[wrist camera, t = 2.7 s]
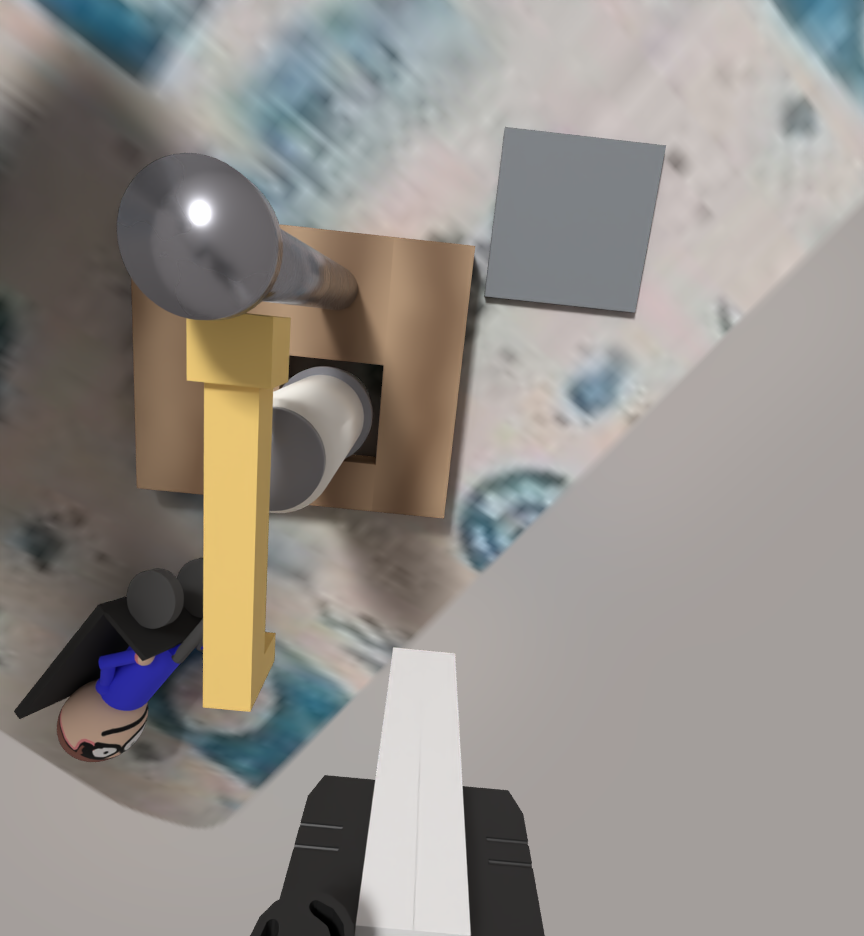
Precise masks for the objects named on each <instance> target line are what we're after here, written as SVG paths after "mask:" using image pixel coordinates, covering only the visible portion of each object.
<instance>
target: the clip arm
mask: <svg viewBox="0 0 864 936" xmlns="http://www.w3.org/2000/svg"><path fill="white" fill-rule="evenodd" d="M290 325H291V318H288V317H279V316H270V315H260V314H251V313H245V314H243V315H240V316H238V317H235V318H231V319H226V320H194V319H188V318H186V333H187V381H197V382H204V550H203V707H204V708H215V709H226V710H237V711H248V712H250V711H251V709H252V707H253V705H254V703H255V701H256V699H257V697H258V694H259V692H260V690H261V688H262V686H263V684H264V682H265V680H266V677H267V675H268V673H269V671H270V669H271V667H272V665H273V663H274V658H275V633H269V632H265V618H266V589H267V559H268V530H269V500H270V471H271V442H272V412H273V388H275V387H277V386H280V385H282V384H285V383H287V382H288V374H289V349H290Z"/></svg>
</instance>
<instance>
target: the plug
mask: <svg viewBox="0 0 864 936" xmlns="http://www.w3.org/2000/svg"><path fill="white" fill-rule="evenodd" d="M372 421H373V409H372V403H371V399H370V395H369V392H368V390H367V388H366V387H365V385H364V384H363V383H362V382H361V381H360V379H358V378H357V377H356V376H355V375H353V374H351V373H349V372H347V371H344V370H342V369H339V368H336V367H330V366H318V367H313V368H309V369H306V370H304V371H301V372H299V373H297V374H296V375H294V376H293V377H292V378H290V379H289V380H288V382H287V383H285V385H284V386H283V387H282V388H281V389H279V390H276V391H274V392H273V412H272V442H271V471H270V500H269V513H288V512H293V511H297V510H299V509H302V508H304V507H306V506H308V505H309V504H311V503H312V502H314V501H315V500H316V499H317V498H318V497H319V496H320V495H321V494H322V492H323V491H324V490H325V488H326V487H327V485H328V484H329V482H330V481H331V479H332V478H333V476H334V474H335V473H336V471H337V470H338V468H339V467H340V465H341V464H342V462H343V461H344V459H345V458H347V457H349V456H351V455H352V454H353V453H355V452H356V451H357V450H358V449H359V448H360V447H361V446H362V444H363V443H364V441H365V440H366V438H367V436H368V434H369V432H370V429H371V426H372Z"/></svg>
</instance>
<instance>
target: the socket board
mask: <svg viewBox="0 0 864 936" xmlns="http://www.w3.org/2000/svg"><path fill="white" fill-rule="evenodd" d="M279 226H280V229H282V230H284V231H285V232H287V233H289V234H290V235H292V236H294V237H295V238H297V239H299V240H300V241H302V242H303V243H305V244H307V245H308V246H310V247H312V248H313V249H315V250H317V251H318V252H320V253H322V254H323V255H325V256H327V257H328V258H330V259H331V260H333V261H335V262H336V263H338V264H340V265H341V266H343V267H345V268H346V269H348V270H349V271H350V272H351V273H352V274H353V275H354V277H355V279H356V281H357V286H358V292H357V296H356V299H355V300H354V302H353V303H352V304H351V305H350V306H349V307H347V308H345V309H342V310H331V309H322V308H314V307H305V306H297V305H288V304H280V303H271V302H263V301H262V302H261V303H260V304H259V305H257V306H256V307H255V308H254V309H252V310H250V311H249V312H247V313H251V314H260V315H270V316H279V317H288V318H291V325H290V349H289V355H291V356H301V357H310V358H320V359H330V360H339V361H349V362H358V363H368V364H377V365H384V368H383V380H382V392H381V405H380V417H379V429H378V442H377V454H376V457H372V456H363V455H353V454H352V455H351V456H349V457H347V458H345V459H344V461H343V462H342V464H341V465H340V467H339V468H338V470H337V471H336V473H335V474H334V476H333V478H332V479H331V481H330V482H329V484H328V485H327V487H326V488H325V490H324V491H323V492H322V494H321V495H320V496H319V497H318V498H317V499H316V500H315V501H314V502H312V503H311V504H309V505H313V506H323V507H333V508H343V509H353V510H363V511H373V512H384V513H394V514H404V515H414V516H424V517H434V518H444V513H445V505H446V496H447V487H448V478H449V470H450V461H451V452H452V444H453V435H454V426H455V417H456V409H457V400H458V391H459V383H460V374H461V365H462V356H463V348H464V339H465V330H466V322H467V313H468V304H469V296H470V287H471V278H472V269H473V261H474V252H475V246H470V245H461V244H452V243H442V242H433V241H424V240H415V239H406V238H397V237H388V236H379V235H370V234H361V233H352V232H342V231H333V230H324V229H315V228H306V227H297V226H288V225H279ZM131 291H132V328H133V366H134V404H135V441H136V479H137V488H141V489H151V490H161V491H171V492H182V493H192V494H202V495H204V382H197V381H187V333H186V318H184V317H180V316H177V315H175V314H172V313H170V312H168V311H166V310H164V309H163V308H161V307H159V306H158V305H156V304H155V303H154V302H153V301H151V300H150V299H149V298H148V297H147V296H146V295H145V294H144V293H143V292H142V291H141V290H140V289H139V288H138V286H137V285H136V284H135V283H134V281H133V279H132V278H131ZM284 385H285V384H282V385H280V386H277V387H275V388H273V392H274V391H276V390H279V389H281V388H282V387H283V386H284Z"/></svg>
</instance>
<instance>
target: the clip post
mask: <svg viewBox="0 0 864 936" xmlns="http://www.w3.org/2000/svg"><path fill="white" fill-rule="evenodd" d="M117 238H118V245H119V249H120V253H121V256H122V259H123V262H124V265H125V267H126V269H127V271H128V273H129V275H130V276H131V278H132V279H133V281H134V283H135V284H136V285H137V286H138V288H139V289H140V290H141V291H142V292H143V293H144V294H145V295H146V296H147V297H148V298H149V299H150V300H151V301H153V302H154V303H155V304H156V305H158V306H159V307H161V308H163V309H164V310H166V311H168V312H170V313H172V314H175V315H177V316H180V317H184V318H188V319H194V320H226V319H231V318H235V317H238V316H240V315H243V314H245V313H247V312H249V311H250V310H252V309H254V308H255V307H256V306H257V305H259V304H260V303H261V302H262V301H263V302H271V303H280V304H288V305H297V306H305V307H314V308H322V309H331V310H342V309H345V308H347V307H349V306H350V305H351V304H352V303H353V302H354V300H355V299H356V296H357V292H358V286H357V281H356V279H355V277H354V275H353V274H352V273H351V272H350V271H349V270H348V269H346V268H345V267H343V266H341V265H340V264H338V263H336V262H335V261H333V260H331V259H330V258H328V257H327V256H325V255H323V254H322V253H320V252H318V251H317V250H315V249H313V248H312V247H310V246H308V245H307V244H305V243H303V242H302V241H300V240H299V239H297V238H295V237H294V236H292V235H290V234H289V233H287V232H285V231H284V230H282V229H280V226H279V222H278V220H277V217H276V215H275V212H274V210H273V208H272V207H271V205H270V203H269V201H268V200H267V199H266V197H265V196H264V194H263V193H262V192H261V191H260V190H259V189H258V188H257V187H256V185H254V184H253V183H252V182H251V181H250V180H248V179H247V178H246V177H245V176H243V175H242V174H241V173H239V172H238V171H237V170H235V169H234V168H232V167H231V166H229V165H228V164H226V163H224V162H222V161H220V160H218V159H216V158H213V157H210V156H207V155H201V154H196V153H181V154H173V155H169V156H165V157H163V158H160V159H158V160H156V161H154V162H152V163H151V164H149V165H148V166H146V167H145V168H144V169H143V170H141V171H140V172H139V173H138V174H137V175H136V177H135V178H134V179H133V180H132V181H131V183H130V184H129V186H128V188H127V189H126V191H125V193H124V196H123V198H122V201H121V204H120V207H119V212H118V218H117Z"/></svg>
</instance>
